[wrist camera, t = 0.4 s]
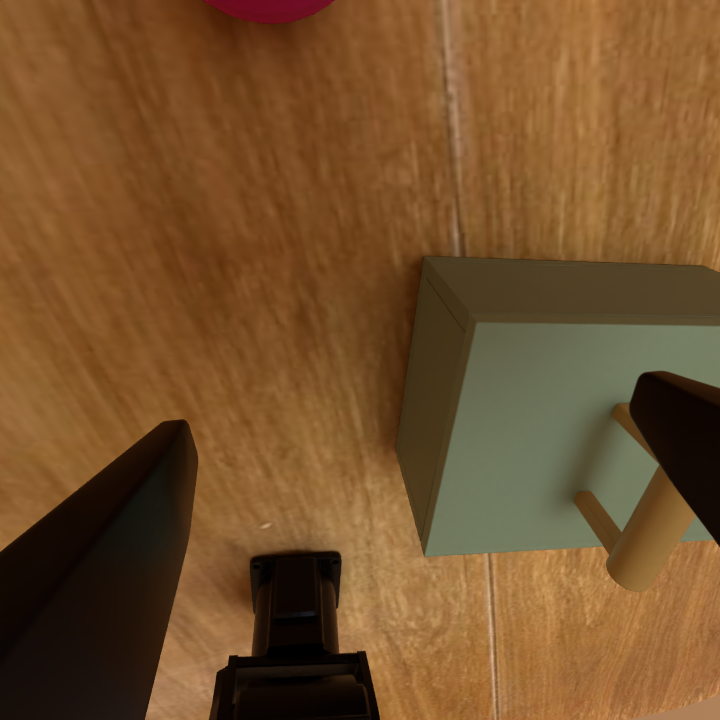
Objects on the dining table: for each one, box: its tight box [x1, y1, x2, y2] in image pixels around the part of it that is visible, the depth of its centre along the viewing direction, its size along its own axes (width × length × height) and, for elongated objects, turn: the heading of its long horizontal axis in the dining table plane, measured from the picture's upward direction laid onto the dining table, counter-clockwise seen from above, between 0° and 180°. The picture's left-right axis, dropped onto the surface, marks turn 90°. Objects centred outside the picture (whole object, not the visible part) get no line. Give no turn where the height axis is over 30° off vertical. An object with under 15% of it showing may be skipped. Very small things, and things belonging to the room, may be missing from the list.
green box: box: [396, 256, 720, 541], centre depth 23 cm, size 16×13×7 cm
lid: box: [421, 314, 720, 592], centre depth 18 cm, size 16×13×5 cm
